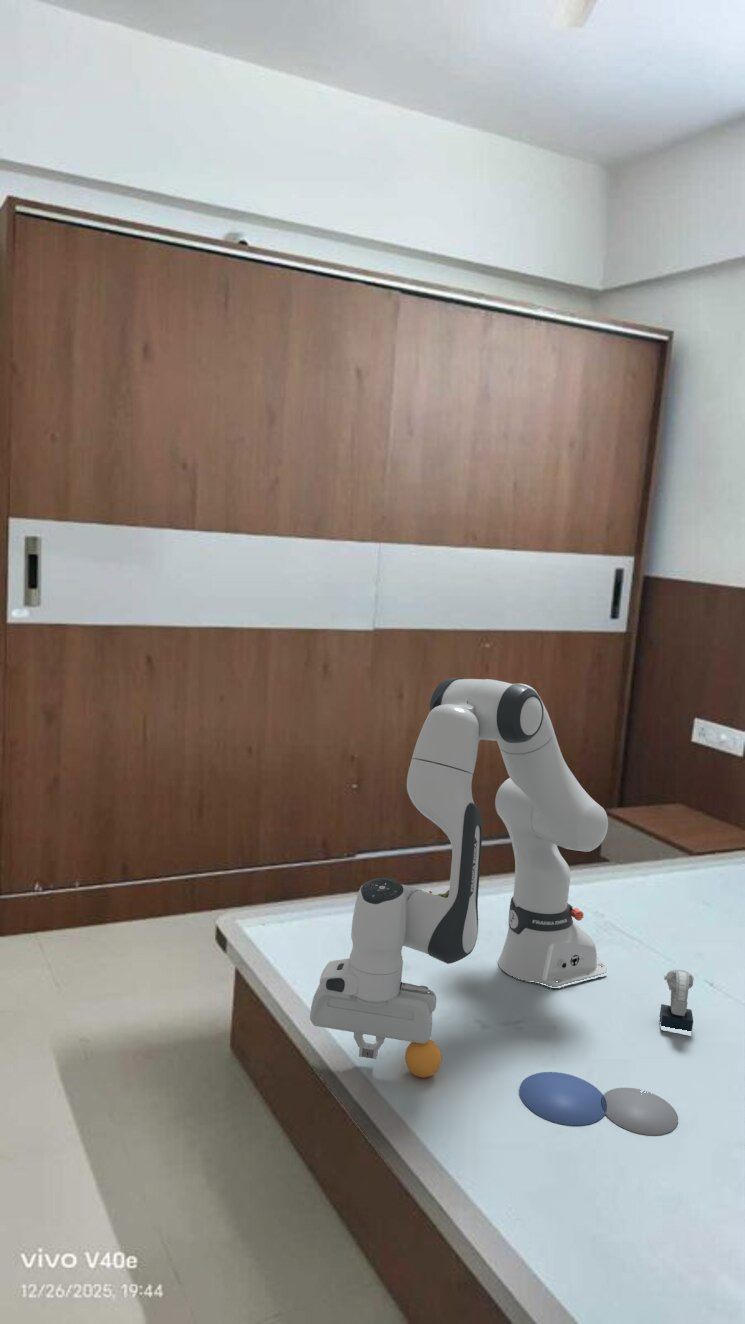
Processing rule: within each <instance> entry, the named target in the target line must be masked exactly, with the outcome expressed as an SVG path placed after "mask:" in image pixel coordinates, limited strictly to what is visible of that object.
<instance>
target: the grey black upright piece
mask: <svg viewBox="0 0 745 1324" xmlns="http://www.w3.org/2000/svg"><path fill="white" fill-rule="evenodd" d="M663 980H664V981H666V983H667V986H668V989H669V991H670V1005H669V1004H668V1005H667V1004H664V1003H661V1004H660V1009H659V1010H660V1011H659V1017H660V1022H661V1026H665V1027H670V1028H675V1029H682V1030H687V1031H693V1025H694V1017H693V1010H692V1009H689V1008H688V1004H689V1003H688V999H689V998H688V997H689V995H688V994H689V990H690V989H691V988H692V987H693V985H694V980H695V979H694V976H693V974H692V973H690V972H689V971H687V970H684V969H671V970H669V971H668V972H667V973H666V975H664V976H663Z"/></svg>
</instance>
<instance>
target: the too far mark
mask: <svg viewBox="0 0 745 1324" xmlns="http://www.w3.org/2000/svg"><path fill="white" fill-rule="evenodd" d="M641 1090H642V1089H640V1088H636V1087H635V1088H634V1087H616V1088H612V1089H610V1090H607V1091H606V1092H605V1093H604V1094H603V1096H602V1098H601V1105H605V1104H607V1106H605V1107H606V1108H607V1109H605V1110H606V1112H605V1110H604V1108H603V1107H602V1109H603V1111H604V1112H605V1115H604V1116H606V1117H607V1118H608V1119H609V1120H610V1121H611V1122H612V1123H614V1124H615V1125H617V1126H618V1127H621V1128H622V1129H624V1130H627V1131H629V1132H632V1133H635V1134H639V1135H645V1136H663V1135H667V1134H669V1133H671V1132H673V1131H674V1130H675V1129H676V1128H677V1126H678V1124H679V1116H678V1113H677V1111H676V1110H675V1108H674V1107H673V1106H672V1105H671V1103H669V1102H668V1101H666V1100H665V1099H663V1098H662V1097H661V1096H658V1095H657V1094H655V1093H652V1092H650V1091H647V1090H644V1091H643V1092H642V1093H641V1092H640V1091H641ZM645 1091H646V1093H644V1092H645ZM647 1092H648V1093H647ZM651 1093H652V1094H651ZM641 1094H642V1095H641ZM603 1098H605V1100H603ZM603 1101H604V1102H605V1101H606V1102H607V1103H604V1102H603ZM602 1103H603V1104H602Z"/></svg>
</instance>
